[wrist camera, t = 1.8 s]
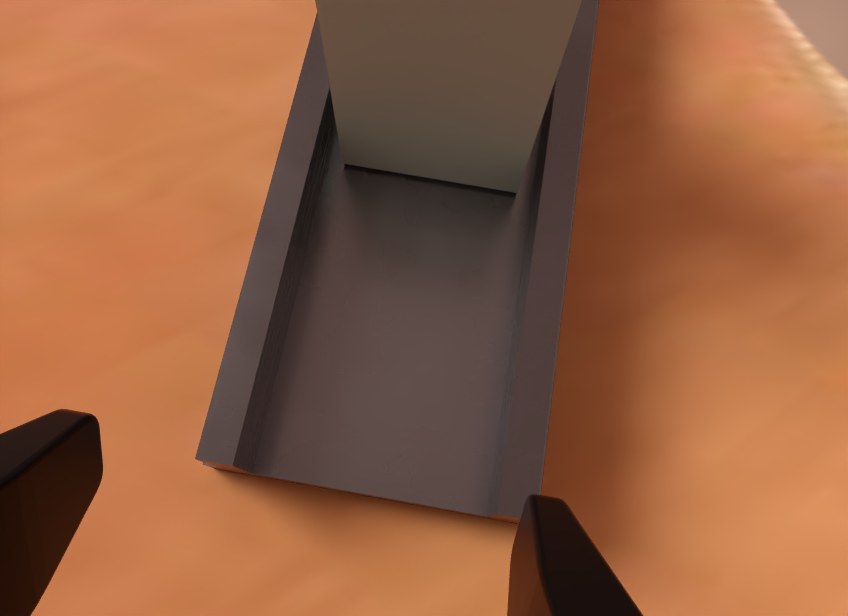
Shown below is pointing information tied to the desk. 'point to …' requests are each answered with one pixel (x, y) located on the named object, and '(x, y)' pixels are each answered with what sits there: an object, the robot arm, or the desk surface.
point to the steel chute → (402, 316)
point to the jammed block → (443, 83)
